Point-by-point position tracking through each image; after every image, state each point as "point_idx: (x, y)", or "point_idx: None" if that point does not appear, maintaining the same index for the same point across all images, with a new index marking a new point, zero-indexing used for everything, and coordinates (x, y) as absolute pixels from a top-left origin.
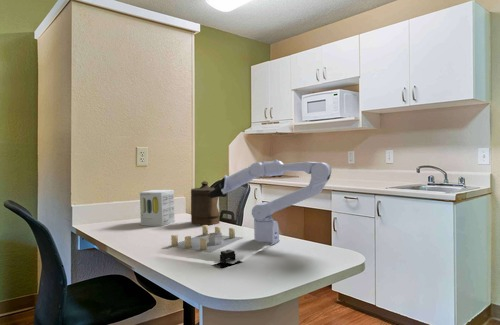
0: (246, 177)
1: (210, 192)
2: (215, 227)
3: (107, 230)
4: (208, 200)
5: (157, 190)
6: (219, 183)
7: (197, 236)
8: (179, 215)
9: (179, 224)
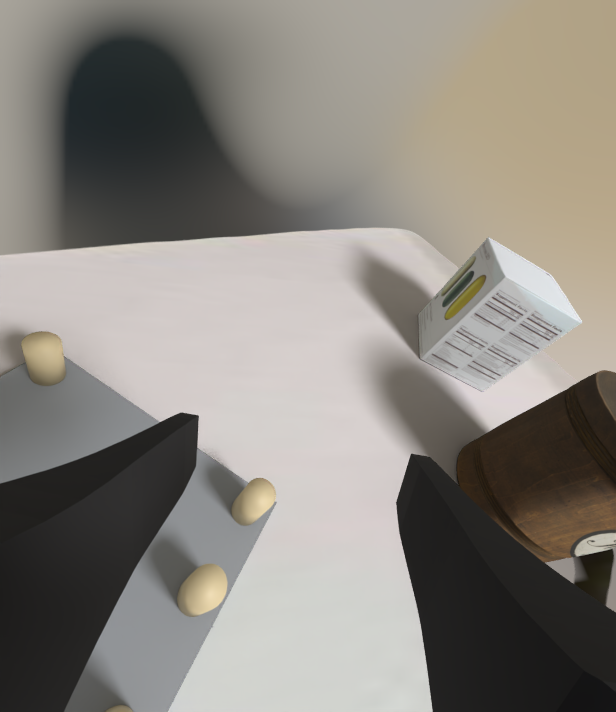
0: None
1: (156, 424)
2: (195, 570)
3: (357, 257)
4: (577, 476)
5: (540, 278)
6: (449, 531)
7: (218, 470)
8: None
9: (452, 405)
